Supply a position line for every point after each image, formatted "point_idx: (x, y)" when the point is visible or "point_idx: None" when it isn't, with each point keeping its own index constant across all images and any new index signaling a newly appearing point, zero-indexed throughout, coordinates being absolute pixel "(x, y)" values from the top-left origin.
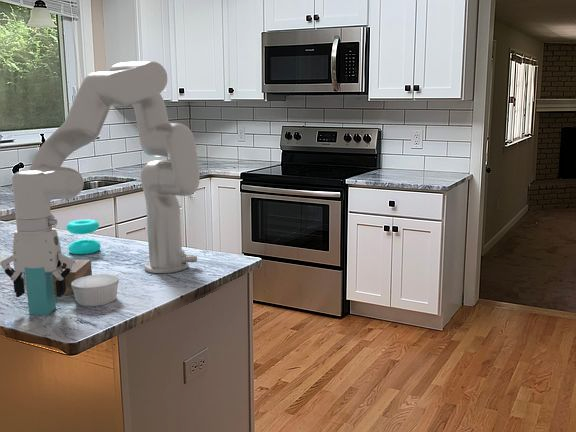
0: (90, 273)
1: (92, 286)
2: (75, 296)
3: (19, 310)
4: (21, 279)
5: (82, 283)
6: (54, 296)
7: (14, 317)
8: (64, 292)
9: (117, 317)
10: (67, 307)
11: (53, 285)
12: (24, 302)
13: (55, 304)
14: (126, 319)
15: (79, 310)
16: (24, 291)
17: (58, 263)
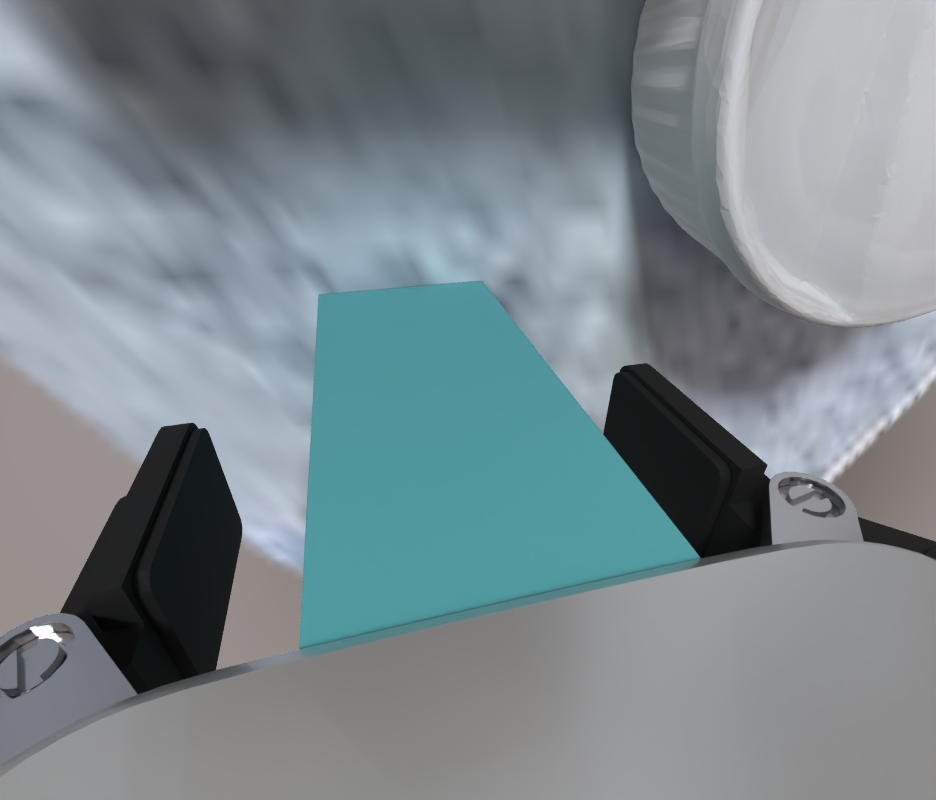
0: None
1: (927, 291)
2: (669, 191)
3: (185, 358)
4: (173, 622)
5: (845, 85)
6: (513, 326)
7: (262, 482)
8: (643, 368)
9: (859, 397)
10: (570, 260)
11: (560, 388)
12: (20, 111)
13: (490, 292)
14: (890, 415)
15: (666, 316)
16: (203, 441)
17: (914, 591)
